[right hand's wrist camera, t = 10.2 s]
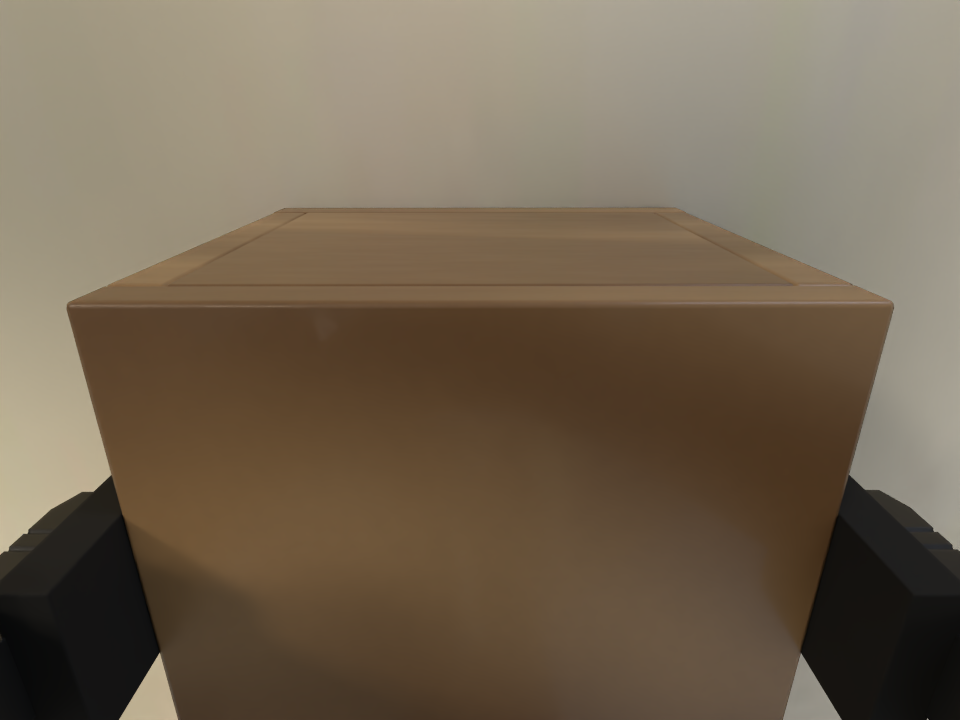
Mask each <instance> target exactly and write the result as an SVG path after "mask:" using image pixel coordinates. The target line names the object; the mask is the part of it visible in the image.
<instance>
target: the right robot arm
mask: <svg viewBox="0 0 960 720" xmlns="http://www.w3.org/2000/svg"><path fill="white" fill-rule="evenodd" d="M28 531H29V532H28V534H23V535H22V536H21V537H20V538H19V539H18V540H17V541H15V542H14V543H13V544H12V545H11V546H10V547H9V551H8V552H3V553H2V554H1V555H0V720H119V719H120V717H121V715H122V714H123V712H124V710H125V709H126V707H127V705H128V704H129V702H130V700H131V699H132V697H133V696H134V694H135V692H136V691H137V689H138V687H139V686H140V684H141V682H142V681H143V679H144V677H145V676H146V674H147V673H148V671H149V669H150V668H151V666H152V664H153V663H154V661H155V659H156V658H157V656H158V654H159V653H160V651H159V647H158V643H157V640H156V636H155V632H154V629H153V625H152V621H151V618H150V614H149V610H148V606H147V603H146V599H145V595H144V592H143V588H142V584H141V581H140V577H139V573H138V570H137V566H136V562H135V559H134V555H133V551H132V548H131V544H130V540H129V537H128V533H127V529H126V526H125V522H124V518H123V515H122V511H121V507H120V503H119V500H118V496H117V492H116V489H115V485H114V481H113V478H112V475H111V476H110V477H109V478H108V479H107V480H106V481H105V482H104V483H103V484H102V485H100V486H99V487H98V488H97V489H96V490H95V491H94V492H81V493H80V494H78V495H76V496H74V497H73V498H71V499H69V500H67V501H65V502H64V503H62V504H60V505H58V506H57V507H55V508H53V509H51V510H50V511H49V512H48V513H47V514H46V515H44V516H43V517H42V518H41V519H40V520H39V521H38V522H37V523H36V524H34V525H33V526H32V527H31V528H30V529H29V530H28ZM801 653H802V655H803V657H804V658H805V660H806V662H807V663H808V665H809V667H810V668H811V670H812V672H813V673H814V675H815V676H816V678H817V680H818V681H819V683H820V685H821V686H822V688H823V690H824V691H825V693H826V695H827V696H828V698H829V699H830V701H831V703H832V704H833V706H834V708H835V709H836V711H837V713H838V714H839V716H840V718H841V719H842V720H927V718H928V719H929V720H960V551H959V550H954V549H953V547H952V544H951V543H950V542H948V541H947V540H946V539H945V538H944V537H943V536H942V535H941V534H939V533H938V532H934V531H933V527H932V526H930V525H929V524H928V523H927V522H926V521H925V520H924V519H922V518H921V517H920V516H919V515H918V514H917V513H916V512H915V511H913V510H912V509H911V508H910V507H908V506H906V505H905V504H903V503H901V502H899V501H898V500H896V499H894V498H892V497H890V496H889V495H887V494H885V493H883V492H881V491H880V490H864V489H863V488H862V487H861V486H860V485H859V484H858V483H857V482H856V481H855V480H854V479H853V478H852V477H851V476H850V475H849V476H848V480H847V483H846V487H845V491H844V494H843V498H842V502H841V506H840V509H839V513H838V517H837V520H836V524H835V528H834V531H833V535H832V539H831V543H830V546H829V550H828V554H827V557H826V561H825V565H824V568H823V572H822V576H821V580H820V583H819V587H818V591H817V594H816V598H815V602H814V605H813V609H812V613H811V617H810V620H809V624H808V628H807V631H806V635H805V639H804V642H803V646H802V650H801Z"/></svg>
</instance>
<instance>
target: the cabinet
mask: <svg viewBox="0 0 960 720" xmlns="http://www.w3.org/2000/svg"><path fill="white" fill-rule="evenodd" d="M893 309H894V305H893V302H892V301H890V300H887V299H885V298H883V297H880V296H878V295H876V294H873V293H871V292H869V291H866V290H864V289H862V288H859V287H857V286H853V285H852V284H850V283H848V282H846V281H843V280H841V279H839V278H836V277H834V276H832V275H829V274H827V273H825V272H822V271H820V270H818V269H815V268H813V267H811V266H808V265H806V264H804V263H801V262H799V261H797V260H794V259H792V258H790V257H787V256H785V255H783V254H780V253H778V252H776V251H773V250H771V249H769V248H766V247H764V246H762V245H759V244H757V243H755V242H752V241H750V240H748V239H745V238H743V237H741V236H738V235H736V234H734V233H731V232H729V231H727V230H724V229H722V228H720V227H718V226H715V225H713V224H711V223H708V222H706V221H704V220H701V219H699V218H697V217H694V216H692V215H690V214H687V213H686V212H684V211H682V210H679V209H677V208H284V209H282V210H279V211H277V212H275V213H274V214H271V215H269V216H267V217H264V218H262V219H260V220H257V221H255V222H253V223H251V224H248V225H246V226H244V227H241V228H239V229H237V230H234V231H232V232H230V233H227V234H225V235H223V236H220V237H218V238H216V239H214V240H211V241H209V242H207V243H204V244H202V245H200V246H197V247H195V248H193V249H190V250H188V251H186V252H183V253H181V254H179V255H177V256H174V257H172V258H170V259H167V260H165V261H163V262H160V263H158V264H156V265H153V266H151V267H149V268H146V269H144V270H142V271H139V272H137V273H135V274H133V275H130V276H128V277H126V278H123V279H121V280H119V281H116V282H114V283H112V284H110V285H108V286H107V287H103V288H100V289H98V290H96V291H93V292H91V293H89V294H87V295H84V296H82V297H80V298H77V299H75V300H73V301H70V302H69V303H68V304H67V312H68V316H69V320H70V323H71V327H72V331H73V334H74V338H75V342H76V345H77V349H78V353H79V356H80V360H81V364H82V367H83V371H84V375H85V378H86V382H87V386H88V389H89V393H90V397H91V401H92V404H93V408H94V412H95V415H96V419H97V423H98V426H99V430H100V434H101V437H102V441H103V445H104V448H105V452H106V456H107V459H108V463H109V467H110V470H111V474H112V478H113V481H114V485H115V489H116V492H117V496H118V500H119V503H120V507H121V511H122V515H123V518H124V522H125V526H126V529H127V533H128V537H129V540H130V544H131V548H132V551H133V555H134V559H135V562H136V566H137V570H138V573H139V577H140V581H141V584H142V588H143V592H144V595H145V599H146V603H147V606H148V610H149V614H150V618H151V621H152V625H153V629H154V632H155V636H156V640H157V643H158V647H159V651H160V654H161V658H162V662H163V665H164V669H165V673H166V676H167V680H168V684H169V687H170V691H171V695H172V698H173V702H174V706H175V709H176V713H177V717H178V720H783V717H784V713H785V709H786V705H787V702H788V698H789V694H790V691H791V687H792V683H793V680H794V676H795V672H796V668H797V665H798V661H799V657H800V654H801V650H802V646H803V642H804V639H805V635H806V631H807V628H808V624H809V620H810V617H811V613H812V609H813V605H814V602H815V598H816V594H817V591H818V587H819V583H820V580H821V576H822V572H823V568H824V565H825V561H826V557H827V554H828V550H829V546H830V543H831V539H832V535H833V531H834V528H835V524H836V520H837V517H838V513H839V509H840V506H841V502H842V498H843V494H844V491H845V487H846V483H847V480H848V476H849V472H850V469H851V465H852V461H853V457H854V454H855V450H856V446H857V443H858V439H859V435H860V432H861V428H862V424H863V420H864V417H865V413H866V409H867V406H868V402H869V398H870V394H871V391H872V387H873V383H874V380H875V376H876V372H877V369H878V365H879V361H880V357H881V354H882V350H883V346H884V343H885V339H886V335H887V332H888V328H889V324H890V320H891V317H892V313H893Z"/></svg>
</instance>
